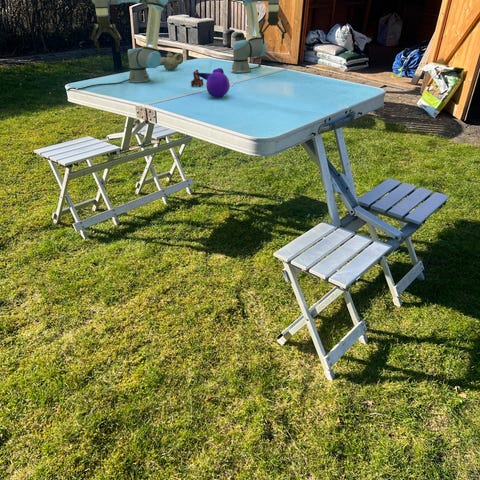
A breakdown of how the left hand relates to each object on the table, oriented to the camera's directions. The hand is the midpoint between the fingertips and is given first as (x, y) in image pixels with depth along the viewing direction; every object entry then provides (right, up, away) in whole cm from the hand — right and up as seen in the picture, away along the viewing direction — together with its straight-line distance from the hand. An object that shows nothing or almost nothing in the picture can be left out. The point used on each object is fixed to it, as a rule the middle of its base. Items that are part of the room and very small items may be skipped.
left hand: (108, 51), depth 295 cm
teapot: (+29, +19, +82) cm, 89 cm away
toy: (+70, -30, -2) cm, 76 cm away
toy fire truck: (+56, -13, +26) cm, 64 cm away
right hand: (+111, +20, +34) cm, 118 cm away
